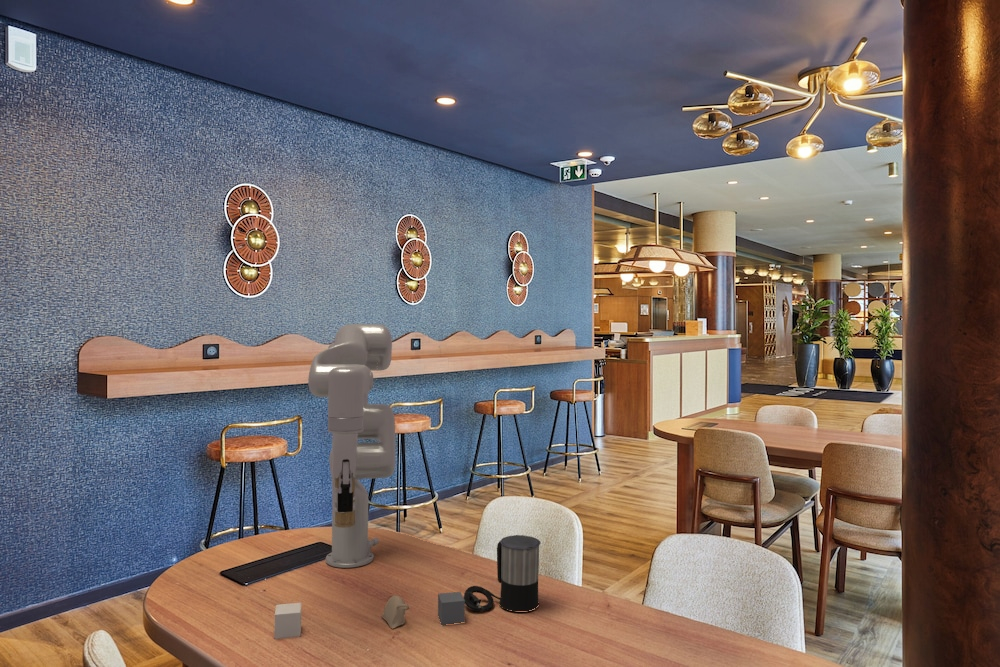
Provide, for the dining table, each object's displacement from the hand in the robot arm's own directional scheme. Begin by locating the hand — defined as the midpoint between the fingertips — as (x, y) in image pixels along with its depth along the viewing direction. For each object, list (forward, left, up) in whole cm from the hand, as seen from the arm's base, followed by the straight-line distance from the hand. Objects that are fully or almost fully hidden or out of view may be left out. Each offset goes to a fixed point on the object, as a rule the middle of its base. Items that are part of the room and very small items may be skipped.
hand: (344, 507), depth 145 cm
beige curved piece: (-4, +11, -24) cm, 27 cm away
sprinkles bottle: (0, 0, -4) cm, 4 cm away
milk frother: (-24, +26, -24) cm, 43 cm away
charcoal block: (-12, +20, -24) cm, 34 cm away
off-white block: (+11, -5, -24) cm, 27 cm away
